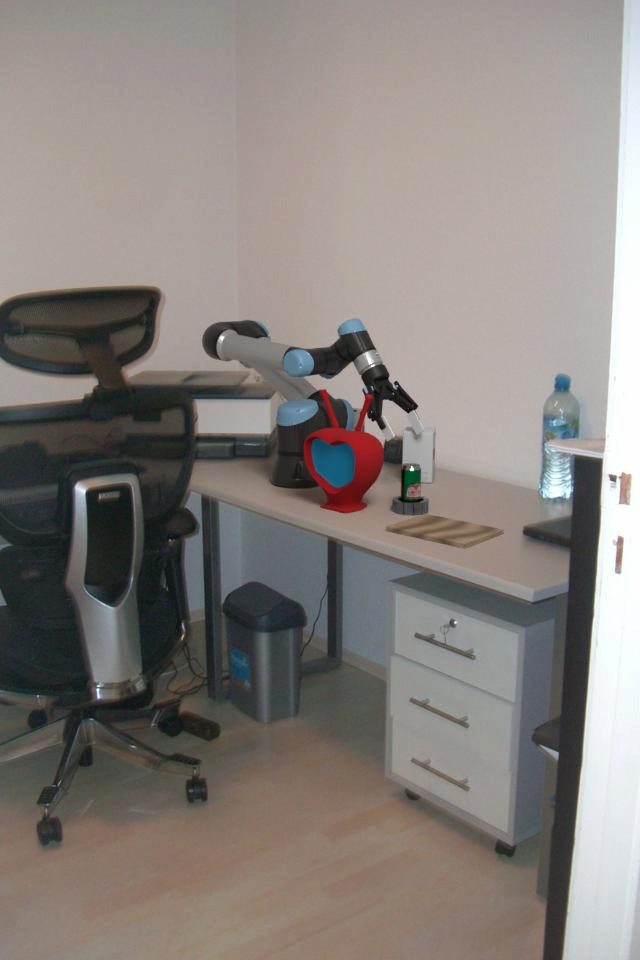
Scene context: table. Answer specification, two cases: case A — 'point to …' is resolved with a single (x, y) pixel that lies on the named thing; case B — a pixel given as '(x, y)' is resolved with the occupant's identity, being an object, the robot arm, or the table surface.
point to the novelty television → (344, 461)
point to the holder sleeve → (410, 506)
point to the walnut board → (445, 530)
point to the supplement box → (420, 451)
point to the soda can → (411, 482)
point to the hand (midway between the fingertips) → (406, 435)
